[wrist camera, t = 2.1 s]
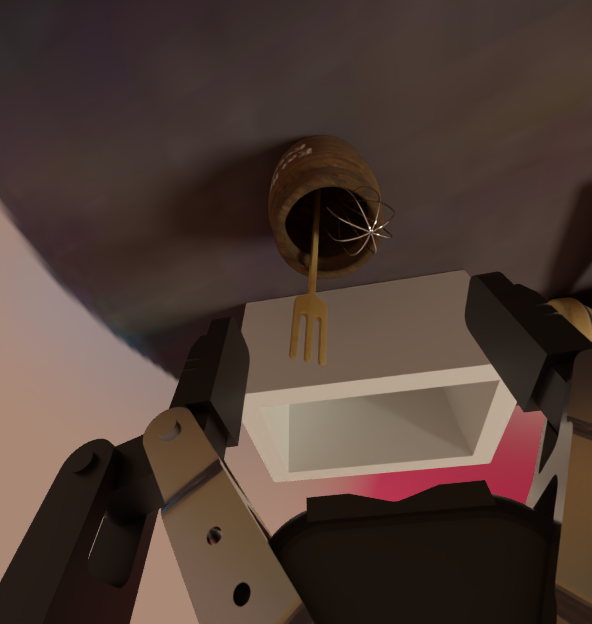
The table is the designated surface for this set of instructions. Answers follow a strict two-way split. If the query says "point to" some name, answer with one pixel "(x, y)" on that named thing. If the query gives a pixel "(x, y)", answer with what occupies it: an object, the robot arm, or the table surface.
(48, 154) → the table surface
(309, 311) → the utensil holder
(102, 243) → the table surface
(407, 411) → the open rectangular box
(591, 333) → the kendama
